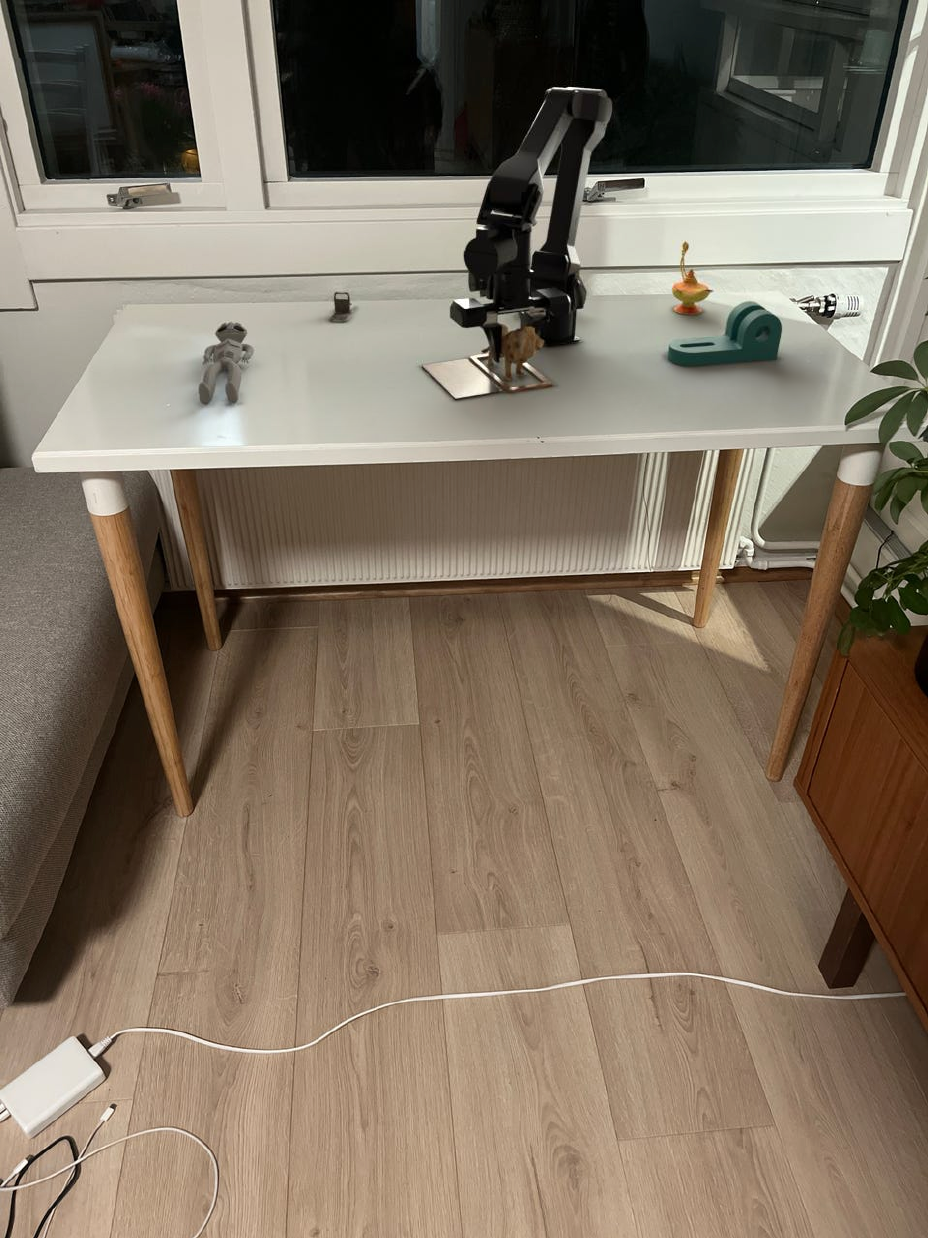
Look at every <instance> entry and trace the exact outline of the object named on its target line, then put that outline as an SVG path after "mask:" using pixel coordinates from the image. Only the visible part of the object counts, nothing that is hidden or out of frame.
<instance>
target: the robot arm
mask: <svg viewBox="0 0 928 1238" xmlns="http://www.w3.org/2000/svg"><path fill="white" fill-rule="evenodd" d="M612 111H613V101H612V99H611V98H610V97H608V94H607V92H606V91H605V89H599V88H598V89H596V88H584V87H570V86H568V87H565V88H564V87H551V88H549V89H547V90H545V93H544V96H543V100H542V106H541V107H540V109H539V111H538V113H537V115H536V117H535V119H534V121H533V122H532V124H531V126H530V128H529V130H528V131H527V134H526V135H525V137H524V139H523V141H522V143H521V145H520V147H519V148H518V150H517V152H516V153H515V155H513V156H512V157H510V158H509V159H507V160H505V161H503V162H502V163H501V164H500V165H499V167H498V168H497V169H496V170H495V172H494V173H493V174H492V176H491V178H490V180H489V181H488V183H487V185H486V188H485V191H484V195H483V197H482V198H483V199H482V202H481V204H480V208H479V211H478V215H477V218H476V225H478V226H479V225H481V226H479V227H477V228H475V237H473V238H472V239H470V240H469V241H468V242H467V244H466V245H465V248H464V250H463V263H464V265H465V267H466V269H467V271H468V275H467V276H468V277H467V285H468V290H469V292H470V293H475V292H479V297H480V298H484V297H485V298H486V299H487V300H489V301H490V300H492V302H488V303H481V302H480V301H479V300H478V299H476V298H475V297H470V298H462V299H453V301H452V303H451V305H450V306H449V318H450V319H451V320H452V321H453V322H455V323H456V324H457V325H458V326H460V327H461V328H462V329H471V328H478V327H479V328H481V330H483V333H484V335H485V337H486V339H487V343H488V347H489V346H490V349H491V352H492V355H493V362H495V363H496V364H498V363H500V359H501V358H500V355H501V338H502V325H501V324H502V323H500V322H498V319H499V318H498V316H500V315H508V314H516V313H518V316H519V321H520V322H519V323H520V325H519V328H522V327H525V326H526V327H530V326H531V327H533V328H535V334H537V335H538V337H540V338H541V339H543V340H544V343H543V346H546V347H552V346H553V347H554V346H560V345H567V344H573V343H579V342H580V338H579V337H578V336H576V329H577V328H576V327H577V315H578V314H577V313H578V310H581V309H585V304H586V300H587V293H588V292H587V288H586V286H585V285H584V284H585V283H584V282H583V279H582V278H581V275H580V273H581V262H580V259H579V256H578V253H577V250H576V247H575V245H576V239H577V232H578V228H579V222H580V217H581V211H582V205H583V198H584V193H585V188H586V183H587V177H588V172H589V167H590V160H591V156H592V153H593V151H594V149H595V148H596V147H597V145H598V144H599V143H600V142H601V140H602V139H603V138H604V137H605V133H606V129H607V125H608V123H609V121H610V119H611V116H612ZM560 145H561V151H560V158H559V163H558V168H557V169H558V170H557V173H556V174H557V175H556V181H555V186H554V191H553V198H552V205H551V210H550V215H549V220H548V221H549V223H548V228H547V234H546V239H545V242H544V243H543V244H542V246H541V247H540V248H539V250H535V251H534V252H533V254H532V244H533V243H532V241H533V227H535V226H537V224H538V221H537V219H536V216H537V213H538V211H539V208H540V206H541V205H542V202H543V197H544V193H545V185H544V180H543V178H544V175H545V173H546V171H547V169H548V167H549V165H550V163H551V161H552V159H553V157H554V155H555V153H556V152H557V150H558V147H559V146H560ZM499 323H500V324H499Z"/></svg>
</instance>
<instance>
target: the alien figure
mask: <svg viewBox="0 0 928 1238" xmlns="http://www.w3.org/2000/svg"><path fill="white" fill-rule="evenodd" d="M214 335H215V337H216V338H217V339H218V340H219V343H218V344H212V345H209V346H207V347H206V348H205V350H204V353H203V357H202V358H203V361H202V366H204V365H205V364H206V365H207V363H208V364H210V362H213V363H212V364H210V365H209V366H208V367H207V368H206V369H205V371H204V374H203V376H202V377H203V378H202V382H200V383H199V385H198V395H199V396H198V397H199V401H200V403H201V404H203V405H209V404H210V403H211V402H212V400H213V398H214V393H215V390H216V384H217V378H218V377H219V375H220V374H223V373H225V374H228V377H227V381H226V384H225V387H224V388H225V389H224V392H225V396H226V398H227V401H228V402H229V403H230V404H237V402H238V401H239V393H240V387H241V381H242V370H241V368H240V366H239V365H238V363H239V362H240V361H241V363H247V364H249V360H250V359H252V356H253V355H254V351H255V350H254V347H253V346H252V345H251V344H248V343H243V342H244V340H245V338H246V336H247V335H248V330H247V329H246V328H245V327H243V326H242V323H239V322H232V321H230V322H228V323H227V322H224V323H222V324H221V325H220V326H219V327H218V328H217V329H216V330H215V332H214ZM243 352H245V353H244V354H243V356H242V353H243Z"/></svg>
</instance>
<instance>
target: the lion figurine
mask: <svg viewBox="0 0 928 1238" xmlns="http://www.w3.org/2000/svg"><path fill="white" fill-rule="evenodd" d="M498 323H499V324H501V325H502V338H501V355H500V359H502V358H503V359H504V381H505V382H511V381H513V374H512V364H516V367H515V375H516V376H517V377H518V378H524V377H525V372H523V371H522V368H523V367H522V365H523V363H528V360H530V359H531V358H533V357H534V356H535V354H536V352H540V351H541V349H542V348H543V346H544V344H543V343H544V340H543V339H541V338H540V337H538V335H537V334H535V328H533V327H531V326H530V327H526V326H525V327H522V328H520V327H519V328H516V329H513V330H510V331H509V328H508V327H507V325H506V324H504V323H500V322H498ZM481 353H482V354H488V358H487V363H486V367H487V368H488V367H489V368H492V367H494V366H495V363H494V358H493V355H492V352H491V349H490V346H489V345H488V346H487V347H486V348H484V349H482V350H481ZM502 355H503V356H502Z"/></svg>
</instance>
